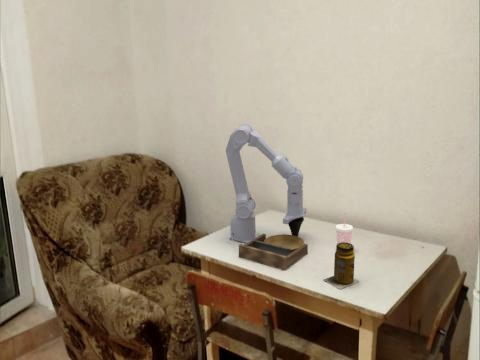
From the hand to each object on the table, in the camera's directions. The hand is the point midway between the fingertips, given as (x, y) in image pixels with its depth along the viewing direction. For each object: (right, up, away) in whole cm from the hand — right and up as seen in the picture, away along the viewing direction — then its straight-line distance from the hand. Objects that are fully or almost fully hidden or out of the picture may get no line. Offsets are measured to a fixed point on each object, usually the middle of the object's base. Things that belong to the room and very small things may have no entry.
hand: (294, 236), depth 173 cm
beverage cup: (+17, -4, -9) cm, 19 cm away
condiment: (+11, -10, -31) cm, 35 cm away
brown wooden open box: (-9, -5, -11) cm, 16 cm away
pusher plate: (-10, -6, -12) cm, 17 cm away
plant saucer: (-5, -4, -6) cm, 8 cm away
